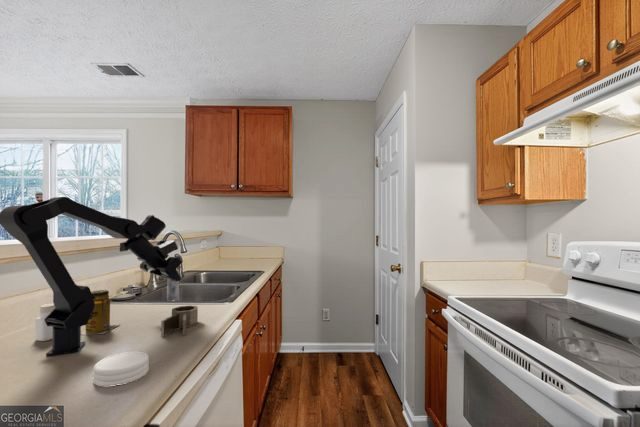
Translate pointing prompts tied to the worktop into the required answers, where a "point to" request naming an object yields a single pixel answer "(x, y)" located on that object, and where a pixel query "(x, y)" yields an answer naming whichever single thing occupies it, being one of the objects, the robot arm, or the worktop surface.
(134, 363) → the coaster
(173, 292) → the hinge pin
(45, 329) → the pepper shaker
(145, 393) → the worktop surface
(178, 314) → the hinge
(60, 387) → the worktop surface
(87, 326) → the condiment
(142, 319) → the worktop surface
